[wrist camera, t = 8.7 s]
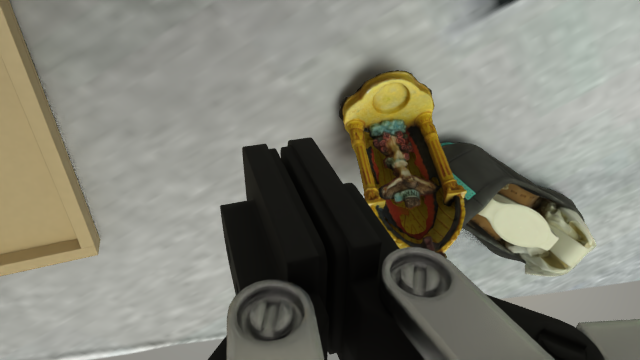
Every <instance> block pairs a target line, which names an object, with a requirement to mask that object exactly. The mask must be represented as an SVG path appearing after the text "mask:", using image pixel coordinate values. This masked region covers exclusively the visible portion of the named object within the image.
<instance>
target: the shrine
mask: <svg viewBox="0 0 640 360" xmlns="http://www.w3.org/2000/svg"><path fill="white" fill-rule="evenodd" d="M433 109H434V103H433V99H432V91H431V90H430V89H429V88H427V86H426V85H424V84H421V83H419V82H418V81H417V80H416V78H415V77H414V76H413V75H412V74H411V73H409V72H407V71H399V70H396V71H389V72H386V73H382V74H378V75H377V76H376V77H374V78H372V79H370V80H367V81H365V82H364V84H363V85H362V86H361V87H360V88H359V89H358V90H357V92H356V93H355V94H353V95H352V96H350V97H345V98H344V99H343V101H342V103H341V108H340V111H339V116H340V118H341V119H342V121H343V122H344V125H345V129H346V131H347V132H348V133H349V134H350V139H351V144H352V148H353V150H354V151H355V153H356V157H357V161H358V165H359V168H360V174H361V178H362V183H363V188H364V196H365V200H366V202H367V203H368V205H369V206H370V207H371V209H372V210H373V212H374V213H375V215H376V216H377V217H378V219H379V220H380V222H381V223H382V224H383V226H384V227H385V229H386V230H387V231H388V233H389V234H390V236H391V237H392V238H393V240H394V241H395V243H396V244H397V245H398V247H399V248H400V249H402V248H406V247H420V248H424V249H429V250H432V251H434V252H436V253H439V254H441V255H442V256H444V257H445V258H447V256H446V254H445V253H444V252H445V251H446V250H447V249H448V248H449V247H450V246H451V245H452V243H453V242H454V241H455V240H456V239H457V236H458V235H459V233H460V231H461V229H462V225H463V221H464V217H465V208H464V200H463V198H464V197H465V194H466V193H467V191H466V190H465V189H464V187H463V186H462V185H458V184H457V180H455V179H454V176H453V174H452V171H451V169H450V167H449V164H448V161H447V159H446V156H445V154H444V151H443V149H442V147H441V144H440V142H439V139H438V134H437V131H436V129H435V126H434V124H433V121H432V112H433ZM365 128H367V129H368V131H369V132H366V131H364V129H365Z"/></svg>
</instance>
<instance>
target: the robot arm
mask: <svg viewBox="0 0 640 360" xmlns="http://www.w3.org/2000/svg"><path fill="white" fill-rule="evenodd" d="M242 152H243V164H244V174H245V185H246V196H247V201H243V202H237V203H232V204H226V205H220V209H221V217H222V224H223V231H224V238H225V244H226V250H227V255H228V260H229V265H230V270H231V275H232V279H233V284H234V288H235V293H236V296H235V297H234V299H233V301H232V302H231V304H230V306H229V310H228V315H227V336H226V337H225V338H224V340H223V341H222V342H221V344H220V345H219V346H218V347H217V349H216V350H215V351H214V353H213V354H212V355H211V356H210V358H209V359H208V360H327V352H329V354H334V353H337V355H338V357H339V359H340V360H640V319H633V320H616V321H599V322H582V323H578V325H577V327H576V328H575V327H574V326H572V325H569V324H567V323H565V322H563V321H561V320H558V319H555V318H552V317H549V316H546V315H544V314H541V313H538V312H535V311H532V310H529V309H526V308H523V307H520V306H518V305H515V304H512V303H509V302H506V301H503V300H500V299H497V298H495V297H492V296H489V295H486V294H484V293H483V292H482V291H481V290H480V289H479V288H478V287H477V286H476V285H475V284H474V283H473V282H472V281H471V280H470V279H468V278H467V277H466V276H465V275H464V274H463V273H462V272H461V271H460V270H459V269H458V268H457V267H456V266H455V265H454V264H453V263H451V262H450V261H449V260H448V259H446V258H445V257H444V256H442V255H441V254H439V253H436V252H434V251H432V250H429V249H424V248H420V247H406V248H402V249H400V248H399V247H398V245H397V244H396V243H395V241H394V240H393V238H392V237H391V236H390V234H389V233H388V231H387V230H386V229H385V227H384V226H383V224H382V223H381V222H380V220H379V219H378V217H377V216H376V215H375V213H374V212H373V210H372V209H371V207H370V206H369V205H368V203H367V202H366V200H365V199H364V198H363V196H362V195H361V193H360V192H359V191H358V189H357V188H356V187H355V185H354V184H352V183H346V184H343V183H342V182H341V180H340V179H339V177H338V176H337V174H336V173H335V171H334V170H333V168H332V167H331V165H330V164H329V162H328V161H327V159H326V158H325V156H324V155H323V153H322V152H321V150H320V149H319V148H318V146H317V145H316V143H315V142H314V140H313V139H312V138H303V139H296V140H289V141H288V147H282V148H281V158H280V156H279V154H278V152H277V150H276V149H275V148H274V149H268V147H267V145H266V144H260V145H253V146H246V147H243V148H242Z"/></svg>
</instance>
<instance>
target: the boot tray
mask: <svg viewBox="0 0 640 360" xmlns="http://www.w3.org/2000/svg"><path fill="white" fill-rule="evenodd" d="M99 245H100V238H99V236H98V233H97V230H96V228H95V225H94V222H93V220H92V217H91V215H90V212H89V209H88V207H87V204H86V201H85V199H84V196H83V194H82V191H81V188H80V186H79V183H78V180H77V178H76V175H75V172H74V170H73V167H72V165H71V162H70V159H69V157H68V154H67V151H66V149H65V146H64V144H63V141H62V138H61V136H60V133H59V130H58V128H57V125H56V123H55V120H54V117H53V115H52V112H51V109H50V107H49V104H48V102H47V99H46V96H45V94H44V91H43V88H42V86H41V83H40V80H39V78H38V75H37V73H36V70H35V67H34V65H33V62H32V59H31V57H30V54H29V52H28V49H27V46H26V44H25V41H24V38H23V36H22V33H21V31H20V28H19V25H18V23H17V20H16V17H15V15H14V12H13V10H12V7H11V4H10V2H9V0H0V276H3V275H8V274H13V273H17V272H22V271H26V270H31V269H35V268H40V267H45V266H49V265H54V264H58V263H63V262H67V261H72V260H77V259H81V258H86V257H90V256H95V255H98V252H99Z"/></svg>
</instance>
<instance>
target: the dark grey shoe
mask: <svg viewBox="0 0 640 360" xmlns="http://www.w3.org/2000/svg"><path fill="white" fill-rule="evenodd" d="M441 147H442V149H443V151H444V154H445V156H446V159H447V161H448V164H449V167H450V169H451V171H452V174H453V176H454V179H455V180H457V184H458V185H462V186H463V187H464V189H465V190H466V191H467V193H466V194H465V197H464V198H463V200H464V208H465V217H464V221H463V225H462V228H464V229H466V230H468V231H469V232H471V233H472V234H473V235H475V237H476V238H477V239H478V240H479V241H480V242H481V243H483V244H484V245H485V246H487V248H488V249H489V250H490V251H492V252H493V253H495V254H497V255H499V256H501V257H504V258H508V259H512V260H517V261H521V262H523V263H525V264H526V265H525V274H531V275H538V276H561V275H564V274H566V273H568V272H569V271H570V270H572V269H573V268H574V267H575V266H576V265H577V264H578V263H579V262H580V261H581V260H582V259H583V257H584V256H586V255H587V254H588V253H589V252H590V251H591V250H593V249H594V248H595V247H596V243H595V240H594V238H593V236H592V235H591V233H590V231H589V229H588V227H587V225H586V224H585V222H584V219H583V216H582V215H581V213H580V212H579V211H578V210H577V208H576V206H575V205H574V203H573V201H572V200H570V199H569V198H567V197H566V196H564V195H562V194H560V193H558V192H556V191H553V190H550V189H546V188H542V187H540V186H536V185H535V184H533V183H532V182H531V181H529V180H528V179H526V178H524V177H523V176H521V175H519V174H518V173H516V172H515V171H514V170H512V169H511V168H509V167H508V166H506V165H505V164H503V163H502V162H500V161H498V160H497V159H496V158H494V157H492V156H491V155H489V154H488V153H487V152H485V151H484V150H483V149H481V148H479V147H478V146H476V145H472V144H467V143H455V144H454V143H450V142H447V143H441Z"/></svg>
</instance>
